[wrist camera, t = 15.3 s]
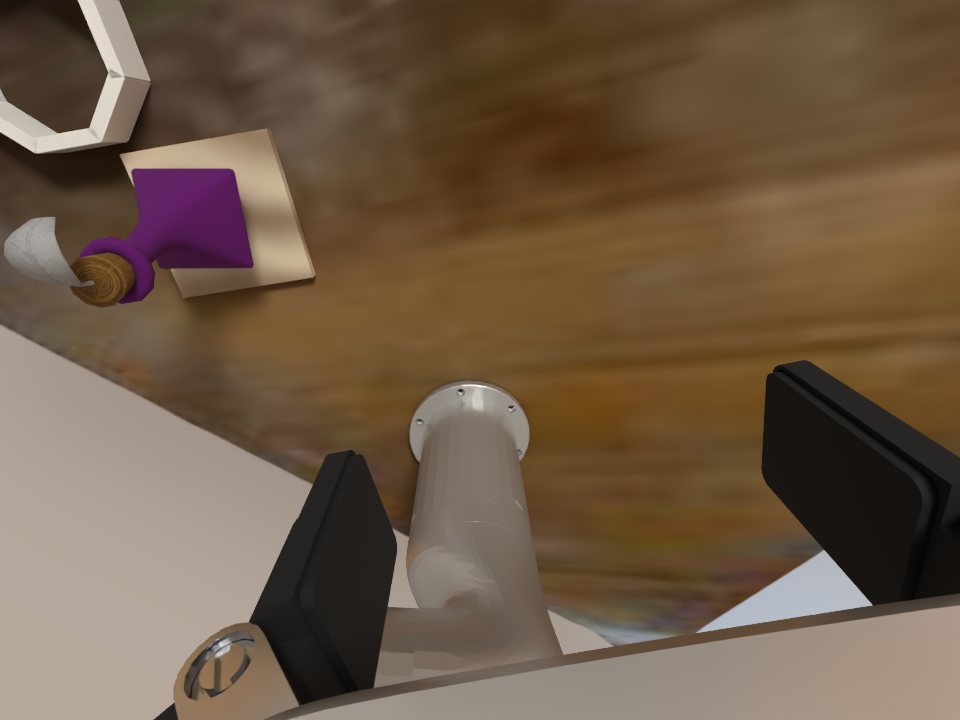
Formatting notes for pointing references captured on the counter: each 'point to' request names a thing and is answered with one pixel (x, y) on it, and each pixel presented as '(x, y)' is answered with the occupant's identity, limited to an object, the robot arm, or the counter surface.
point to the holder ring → (115, 101)
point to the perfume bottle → (145, 238)
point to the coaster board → (262, 203)
